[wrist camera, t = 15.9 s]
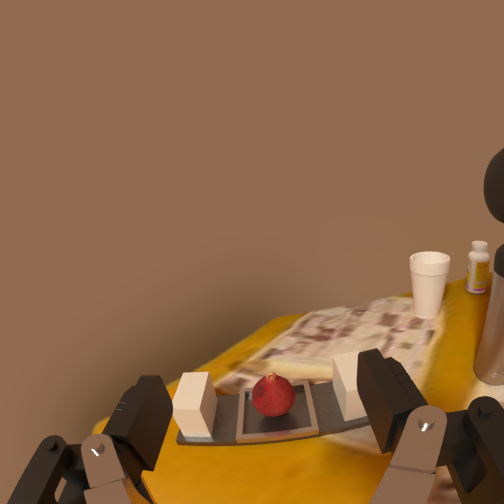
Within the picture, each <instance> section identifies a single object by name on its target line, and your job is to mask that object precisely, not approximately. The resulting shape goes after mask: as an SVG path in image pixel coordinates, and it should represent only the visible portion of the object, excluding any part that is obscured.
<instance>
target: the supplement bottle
mask: <svg viewBox="0 0 504 504" xmlns="http://www.w3.org/2000/svg"><path fill="white" fill-rule="evenodd" d="M486 250H487V243H486V242H484V241H473V242H472V251H471V252H470V253H469V255H468V267H467V279H466V290H467V291H468V292H470V293H473V294H482V293H484V292H485V291H486V289H487V281H488V272H489V261H490V256H489V254H488V253H487V252H486Z"/></svg>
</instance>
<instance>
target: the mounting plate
mask: <svg viewBox="0 0 504 504" xmlns="http://www.w3.org/2000/svg"><path fill="white" fill-rule="evenodd" d="M291 385H292V386H293V388H294V391H295V395H296V399H295V402H294V405H293V407H292V408H291V409H290V410H289V411H288V412H287V413H285V414H283V415H281V416H276V417H267V416H264V415H262V414H260V413H259V412H257V410H256V409H255V407H254V406H253V403H252V391H253V388H254V387H253V388H242V389H240V394H238V395H223V396H217V399H218V402H217V408H216V413H215V419H214V424H213V430H212V436H211V437H188V436H184V435H183V434H182V432H181V430H180V429H179V432H178V436H177V439H176V442H177V444H178V445H190V446H238V445H256V444H268V443H278V442H286V441H294V440H301V439H307V438H313V437H319V436H324V435H329V434H334V433H338V432H343V431H347V430H351V429H355V428H359V427H363V426H367V425H370V422H369V419H368V417H367V416H365V417H361V418H357V419H353V420H349V421H344V418H343V415H342V412H341V409H340V406H339V403H338V400H337V397H336V394H335V391H334V388H333V381H332V382H327V383H321V384H316V385H310V386H309V383H308V380H306V381H300V382H293V383H291Z"/></svg>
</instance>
